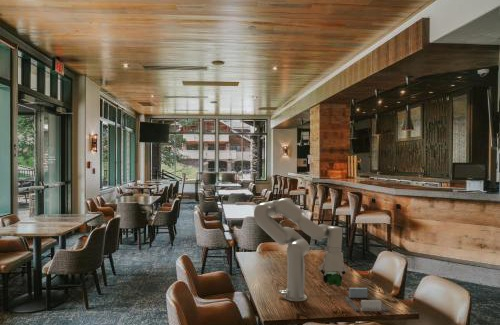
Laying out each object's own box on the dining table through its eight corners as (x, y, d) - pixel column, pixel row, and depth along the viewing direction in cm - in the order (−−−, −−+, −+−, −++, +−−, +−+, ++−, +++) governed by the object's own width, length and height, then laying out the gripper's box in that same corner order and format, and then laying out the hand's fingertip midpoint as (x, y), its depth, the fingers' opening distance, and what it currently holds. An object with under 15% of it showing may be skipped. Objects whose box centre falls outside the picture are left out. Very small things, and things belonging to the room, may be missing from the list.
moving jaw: (350, 297, 232) (350, 288, 232) (348, 296, 234) (349, 287, 234) (367, 297, 232) (367, 288, 232) (366, 296, 234) (366, 287, 234)
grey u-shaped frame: (355, 311, 210) (356, 301, 210) (344, 299, 230) (345, 290, 230) (387, 311, 211) (387, 301, 211) (374, 299, 231) (374, 290, 231)
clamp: (327, 289, 225) (323, 273, 228) (338, 287, 225) (333, 270, 229) (331, 287, 214) (326, 270, 217) (342, 285, 214) (337, 267, 217)
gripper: (319, 250, 217) (317, 284, 217) (352, 251, 218) (350, 285, 218) (316, 247, 225) (314, 279, 225) (348, 248, 225) (346, 281, 225)
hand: (332, 282), depth 221 cm, fingers closed on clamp, 7 cm apart
